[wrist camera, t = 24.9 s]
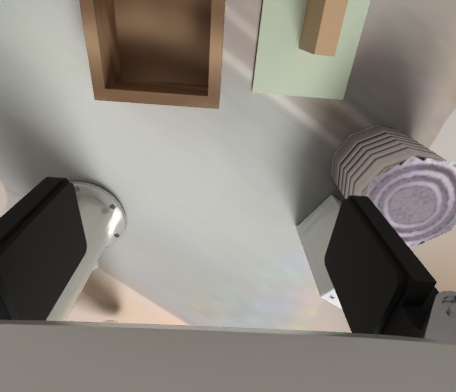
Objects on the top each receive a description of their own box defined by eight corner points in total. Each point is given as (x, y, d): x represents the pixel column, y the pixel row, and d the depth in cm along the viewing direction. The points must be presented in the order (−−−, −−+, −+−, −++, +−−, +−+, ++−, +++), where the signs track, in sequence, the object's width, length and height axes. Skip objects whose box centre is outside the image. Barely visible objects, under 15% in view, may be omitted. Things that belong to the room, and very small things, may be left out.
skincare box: (318, 243, 50) (350, 319, 37) (293, 225, 48) (317, 299, 36) (357, 210, 47) (407, 282, 34) (332, 190, 45) (374, 258, 32)
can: (353, 209, 47) (389, 263, 36) (313, 160, 42) (342, 205, 32) (423, 165, 43) (486, 211, 33) (387, 106, 39) (447, 137, 28)
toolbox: (225, 94, 38) (225, 114, 30) (110, 86, 37) (79, 104, 29) (238, -99, 28) (242, -143, 21) (85, -115, 28) (31, -166, 20)
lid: (340, 98, 38) (365, 115, 32) (251, 90, 38) (257, 106, 31) (386, -70, 30) (433, -97, 23) (272, -83, 29) (286, -115, 23)
